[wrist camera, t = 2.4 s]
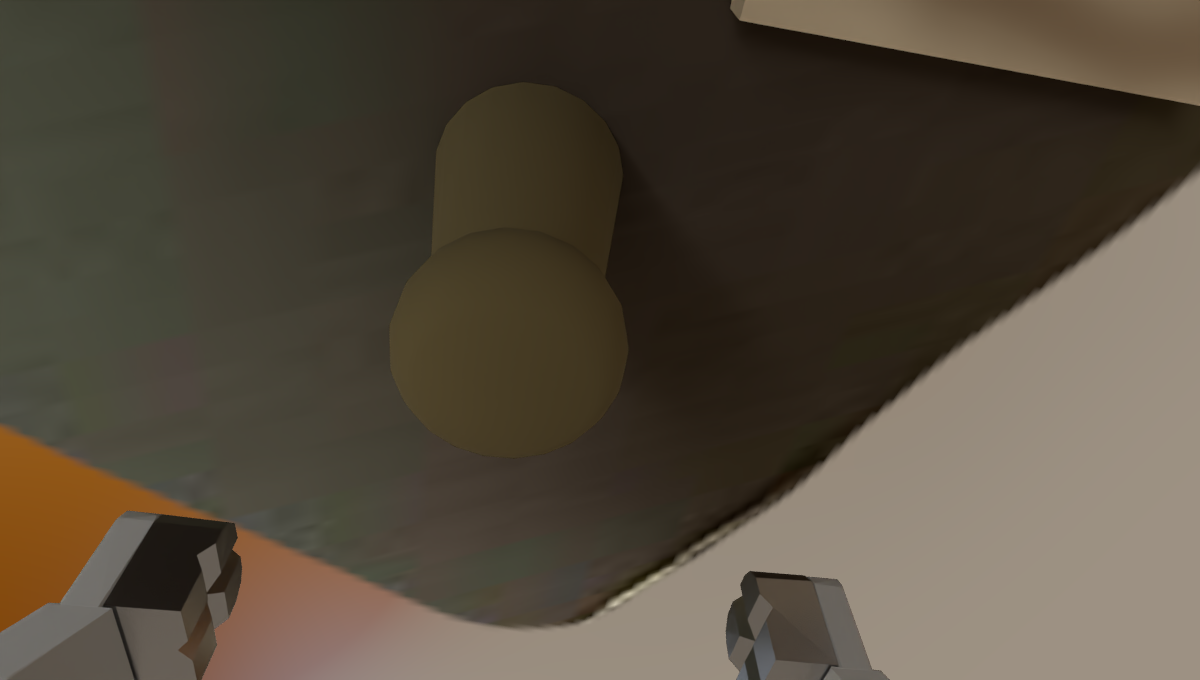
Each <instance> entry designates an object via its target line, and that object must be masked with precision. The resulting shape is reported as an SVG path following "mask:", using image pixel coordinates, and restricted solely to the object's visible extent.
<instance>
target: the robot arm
mask: <svg viewBox="0 0 1200 680" xmlns="http://www.w3.org/2000/svg"><path fill="white" fill-rule="evenodd" d="M237 538H238V537H237V532H236V528H235V523H229V522H221V521H213V520H204V519H196V518H188V517H180V516H171V515H163V514H153V513H144V512H135V511H126V512H125V513H124V514H123V515H121V516H120V517H119V518H118V519H116V521H115V522H114V524H113V525H112V527H111V528H110V530H109V531H108V533H107V534H106V536H105V537H104V539H103V540H102V542H101V543H100V545H99V546H98V547H97V549H96V551H95V552H94V554H93V555H92V556H91V558H90V559H89V561H88V563H87V564H86V565H85V567H84V568H83V570H82V571H81V573H80V574H79V576H78V577H77V579H76V580H75V582H74V583H73V585H72V586H71V588H70V589H69V591H68V592H67V594H66V595H65V597H64V598H63V599H62V601H61V602H60V603H48V604H46V605H45V606H43V607H41V608H40V609H38V610H36V611H35V612H33V613H32V614H30V615H28V616H27V617H25V618H24V619H22V620H20V621H19V622H17V623H15V624H14V625H12V626H10V627H9V628H7V629H6V630H4V631H2V632H1V633H0V680H201V679H202V677H203V675H204V673H205V670H206V668H207V666H208V664H209V661H210V659H211V657H212V655H213V653H214V650H215V648H216V646H217V643H216V638H215V632H214V629H215V628H216V627H218V626H219V625H220V624H222V623H223V622H224V621H226V620H227V619H228V618H229V616H230V614H231V612H232V609H233V607H234V605H235V602H236V599H237V595H238V591H239V588H240V584H241V573H242V565H241V558H240V556H239V555H238V554H237V553H235V552H234V551H233V550H232V549H233V546H234V544H235V542H236V540H237ZM741 590H742V595H743V596H742V597H740V598H738V599H736V600H735V601H733V603H732V605H731V608H730V610H729V613H728V618H727V627H726V643H727V650H728V656H729V660H730V661H731V662H732V663H733V664H734V665H735V667H736V668H737V669H738V670H739V671H740V673H739V675H738V677H737V679H736V680H889V679H888V678H887V677H886V676H885V675H884V674H883V672H882V671H879V670H872V668H871V665H870V662H869V659H868V657H867V654H866V651H865V648H864V645H863V643H862V640H861V637H860V634H859V631H858V629H857V626H856V623H855V620H854V618H853V615H852V612H851V609H850V606H849V604H848V601H847V598H846V595H845V592H844V589H843V587H842V585H841V584H840V582H839V581H838V580H837V579H828V578H817V577H806V576H803V575H790V574H778V573H766V572H753V571H750V572H748V573H747V574H746V575H745V576H744V578H743V580H742V582H741Z"/></svg>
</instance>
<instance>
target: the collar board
mask: <svg viewBox="0 0 1200 680" xmlns="http://www.w3.org/2000/svg"><path fill="white" fill-rule="evenodd" d="M730 9H731V10H732V12H733V13H734V14H735V15H736V17H737V18H738V19H739V20H740V21H745V22H750V23H756V24H761V25H767V26H772V27H777V28H783V29H788V30H794V31H799V32H804V33H810V34H815V35H821V36H826V37H831V38H837V39H842V40H848V41H853V42H858V43H864V44H869V45H875V46H880V47H885V48H891V49H896V50H902V51H907V52H912V53H918V54H923V55H929V56H934V57H939V58H945V59H950V60H956V61H961V62H966V63H972V64H977V65H983V66H988V67H993V68H999V69H1004V70H1010V71H1015V72H1020V73H1026V74H1031V75H1037V76H1042V77H1047V78H1053V79H1058V80H1064V81H1069V82H1074V83H1080V84H1085V85H1091V86H1096V87H1101V88H1107V89H1112V90H1118V91H1123V92H1128V93H1134V94H1139V95H1145V96H1150V97H1155V98H1161V99H1166V100H1172V101H1177V102H1182V103H1188V104H1193V105H1199V106H1200V0H732V2H731V6H730Z"/></svg>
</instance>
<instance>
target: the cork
mask: <svg viewBox="0 0 1200 680" xmlns="http://www.w3.org/2000/svg"><path fill="white" fill-rule="evenodd" d="M622 180H623V170H622V164H621V158H620V151H619V147H618V145H617V143H616V141H615V139H614V137H613V135H612V133H611V131H610V130H609V128H608V126H607V124H606V122H605V121H604V120H603V119H602V118H601V117H600V116H599V115H598V114H597V113H596V112H595V111H594V110H593V109H592V108H591V107H590V106H589V105H588V104H587V103H586V102H585V101H583V100H582V99H580V98H578V97H576V96H574V95H571V94H569V93H567V92H565V91H563V90H561V89H559V88H557V87H555V86H549V85H542V84H535V83H528V82H520V83H514V84H509V85H503V86H498V87H492V88H491V89H489V90H487V91H485V92H483V93H482V94H480V95H478V96H476V97H474V98H473V99H471V100H469V101H467V102H466V103H465V104H464V105H463V106H462V107H461V108H460V110H459V111H458V112H457V113H456V114H455V115H454V116H453V118H452V119H451V120H450V121H449V122H448V123H447V124H446V127H445V130H444V132H443V135H442V137H441V140H440V143H439V145H438V148H437V150H436V167H435V188H434V209H433V230H432V251H431V257H430V258H429V259H428V260H427V261H426V262H425V263H424V264H423V265H422V266H421V267H420V268H419V269H418V270H417V271H416V272H415V273H414V274H413V275H412V276H411V277H410V279H409V280H408V281H407V282H406V285H405V287H404V290H403V292H402V295H401V297H400V299H399V302H398V304H397V307H396V309H395V312H394V315H393V317H392V320H391V322H390V325H389V336H390V365H391V373H392V375H393V377H394V380H395V382H396V384H397V387H398V389H399V392H400V394H401V396H402V399H403V400H404V402H405V403H406V404H407V406H408V407H409V409H410V410H411V411H412V412H413V413H414V414H415V415H416V417H417V418H418V419H419V420H420V421H421V422H422V423H423V424H424V426H425V427H426V428H427V429H428V430H429V431H430V432H432V433H434V434H435V435H437V436H438V437H440V438H442V439H443V440H445V441H446V442H448V443H450V444H451V445H453V446H454V447H458V448H461V449H464V450H467V451H470V452H473V453H476V454H479V455H482V456H491V457H503V458H521V457H528V456H535V455H542V454H546V453H549V452H551V451H553V450H556V449H558V448H561V447H563V446H566V445H568V444H571V443H572V442H574V441H575V440H576V439H577V438H579V437H580V436H581V435H582V434H584V433H585V432H586V431H588V430H589V429H590V428H591V427H593V426H594V425H595V424H596V423H597V422H598V421H599V420H600V419H601V418H602V417H603V416H604V414H605V413H606V411H607V410H608V408H609V407H610V405H611V404H612V402H613V401H614V399H615V398H616V396H617V395H618V393H619V389H620V386H621V383H622V379H623V375H624V370H625V366H626V361H627V356H628V352H629V348H628V340H627V333H626V328H625V322H624V316H623V311H622V305H621V303H620V302H619V300H618V298H617V297H616V295H615V293H614V292H613V290H612V288H611V287H610V285H609V283H608V282H607V280H606V278H605V275H606V269H607V264H608V258H609V253H610V247H611V241H612V236H613V230H614V225H615V219H616V213H617V208H618V202H619V196H620V191H621V185H622Z"/></svg>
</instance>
